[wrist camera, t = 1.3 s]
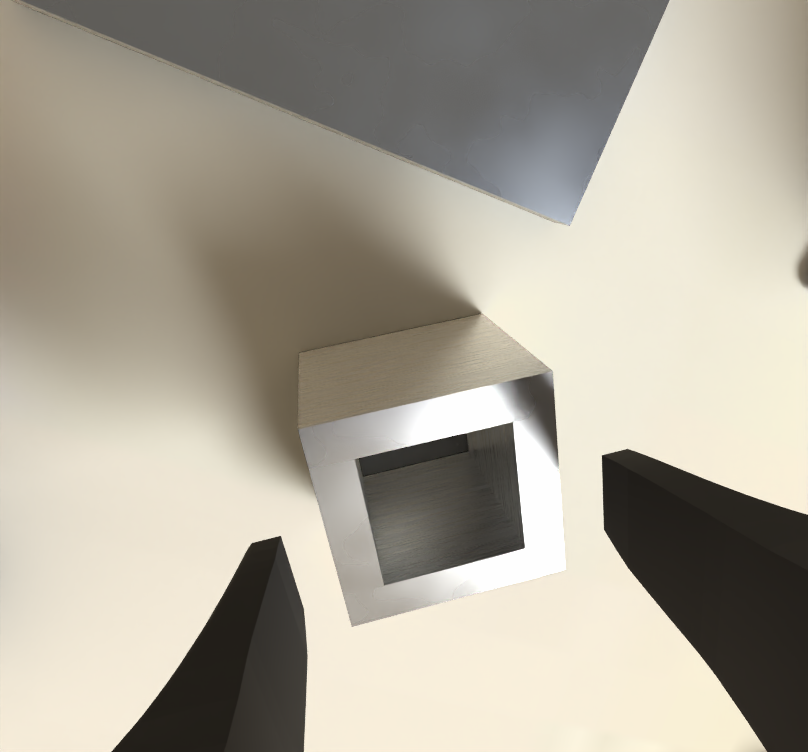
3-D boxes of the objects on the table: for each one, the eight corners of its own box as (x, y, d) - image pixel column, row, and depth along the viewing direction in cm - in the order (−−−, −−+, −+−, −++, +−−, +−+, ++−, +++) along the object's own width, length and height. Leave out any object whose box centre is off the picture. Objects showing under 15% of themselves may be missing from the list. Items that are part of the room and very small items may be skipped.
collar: (482, 313, 16) (552, 371, 12) (500, 469, 19) (565, 569, 14) (298, 353, 16) (297, 429, 11) (339, 508, 18) (351, 626, 13)
